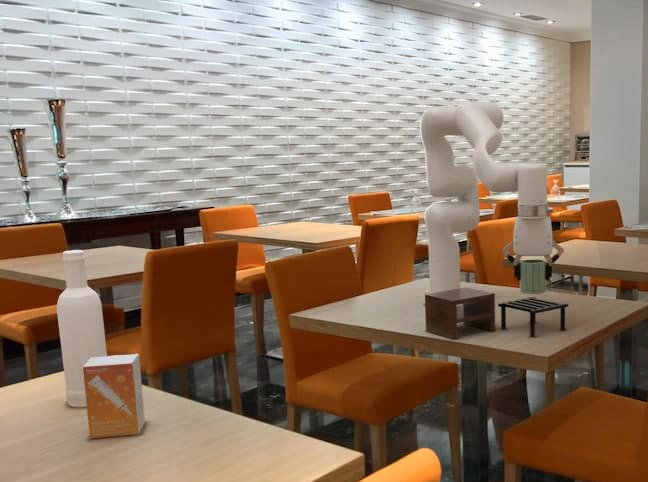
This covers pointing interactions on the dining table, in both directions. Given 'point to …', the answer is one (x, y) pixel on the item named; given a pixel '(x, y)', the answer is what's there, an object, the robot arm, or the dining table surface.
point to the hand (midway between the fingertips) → (533, 279)
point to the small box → (114, 395)
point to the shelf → (459, 311)
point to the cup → (533, 276)
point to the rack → (532, 310)
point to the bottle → (78, 326)
